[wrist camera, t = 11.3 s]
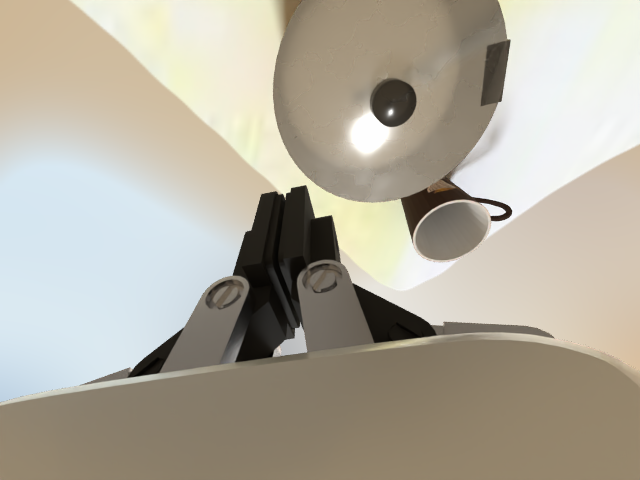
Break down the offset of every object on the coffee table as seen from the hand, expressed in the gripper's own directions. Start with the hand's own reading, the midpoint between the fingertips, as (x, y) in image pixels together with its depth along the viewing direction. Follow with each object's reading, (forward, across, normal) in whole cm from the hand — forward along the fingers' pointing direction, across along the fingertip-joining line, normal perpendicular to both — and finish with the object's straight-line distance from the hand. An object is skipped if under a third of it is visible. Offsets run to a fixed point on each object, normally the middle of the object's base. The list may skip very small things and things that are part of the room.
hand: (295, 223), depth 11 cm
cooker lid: (+16, -6, 0) cm, 17 cm away
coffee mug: (+28, -14, +17) cm, 35 cm away
